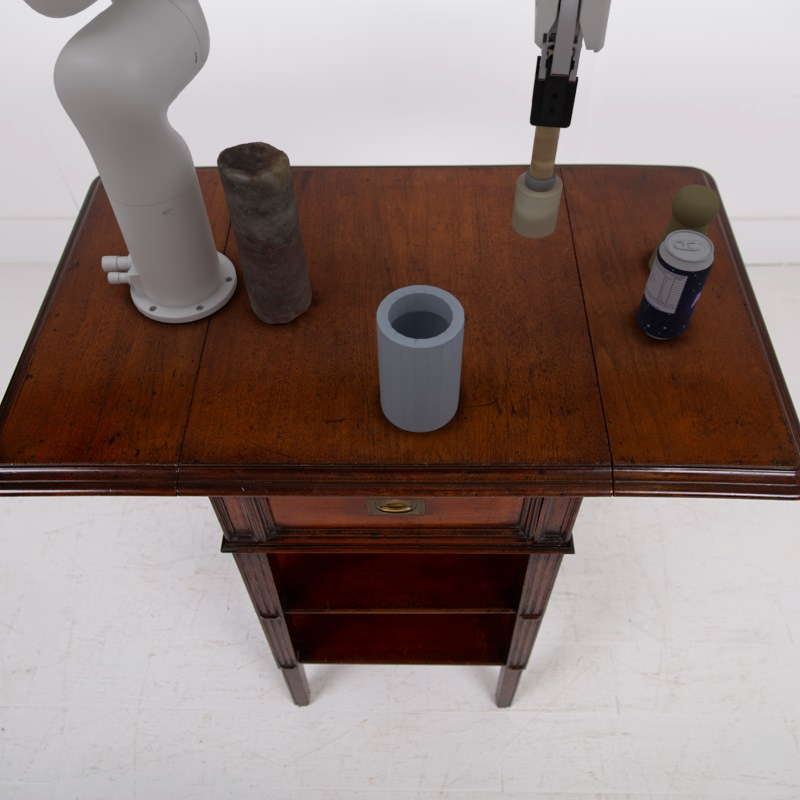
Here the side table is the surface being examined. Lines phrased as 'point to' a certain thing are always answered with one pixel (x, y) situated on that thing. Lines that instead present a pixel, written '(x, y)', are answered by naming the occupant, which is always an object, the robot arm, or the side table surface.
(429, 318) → the grey hollow tube
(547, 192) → the brush
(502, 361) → the side table surface
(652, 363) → the side table surface
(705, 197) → the olive pawn
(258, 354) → the side table surface
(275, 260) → the brown rough cylinder
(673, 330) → the beverage can
